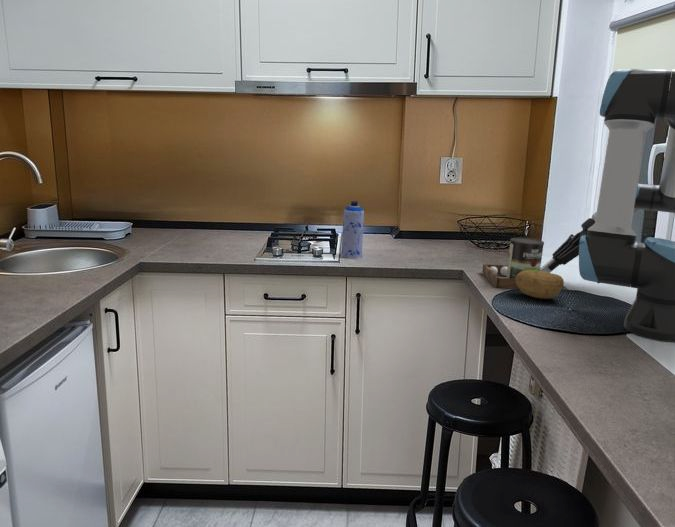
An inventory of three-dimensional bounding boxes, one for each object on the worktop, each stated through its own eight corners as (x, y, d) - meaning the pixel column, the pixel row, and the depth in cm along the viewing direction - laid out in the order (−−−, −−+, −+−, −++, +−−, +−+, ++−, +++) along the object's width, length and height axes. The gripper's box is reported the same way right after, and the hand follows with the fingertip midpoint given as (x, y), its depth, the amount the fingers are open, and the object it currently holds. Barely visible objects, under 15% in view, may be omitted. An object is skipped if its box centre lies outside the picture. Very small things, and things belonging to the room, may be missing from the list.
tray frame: (540, 289, 195) (541, 280, 194) (496, 287, 194) (497, 278, 194) (522, 274, 213) (523, 265, 213) (482, 272, 213) (483, 263, 212)
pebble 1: (498, 276, 209) (499, 267, 208) (489, 276, 209) (490, 267, 208) (496, 274, 212) (497, 265, 211) (487, 273, 212) (488, 265, 211)
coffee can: (545, 287, 198) (550, 243, 194) (516, 288, 195) (521, 243, 192) (526, 279, 207) (532, 237, 204) (499, 279, 204) (504, 237, 201)
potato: (520, 289, 194) (523, 264, 192) (566, 299, 185) (569, 273, 183) (507, 295, 186) (510, 269, 184) (554, 306, 178) (558, 279, 176)
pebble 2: (510, 277, 209) (511, 267, 208) (501, 276, 209) (502, 267, 208) (508, 274, 212) (509, 265, 211) (498, 274, 212) (499, 265, 211)
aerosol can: (356, 253, 233) (359, 199, 228) (365, 258, 226) (369, 203, 221) (337, 254, 230) (340, 200, 225) (346, 259, 223) (349, 203, 218)
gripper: (614, 238, 192) (553, 288, 196) (597, 230, 205) (541, 277, 209) (599, 220, 191) (538, 271, 195) (583, 213, 204) (526, 261, 208)
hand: (540, 274), depth 202 cm, fingers closed
